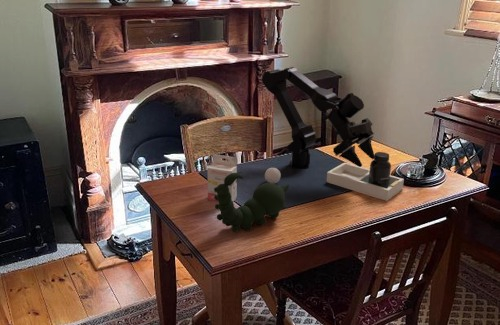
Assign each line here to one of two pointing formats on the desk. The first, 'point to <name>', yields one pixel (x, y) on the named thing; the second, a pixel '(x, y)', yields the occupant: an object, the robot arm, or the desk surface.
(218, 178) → the ink cartridge box
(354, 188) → the tray
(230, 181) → the toy figurine
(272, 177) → the white ball
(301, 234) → the desk surface
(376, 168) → the supplement bottle
